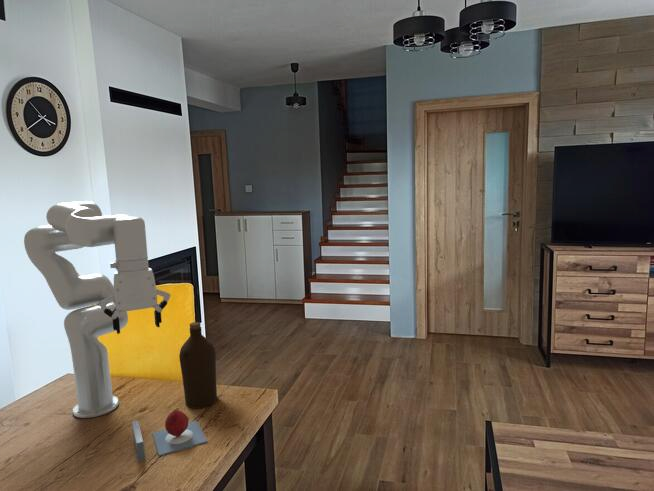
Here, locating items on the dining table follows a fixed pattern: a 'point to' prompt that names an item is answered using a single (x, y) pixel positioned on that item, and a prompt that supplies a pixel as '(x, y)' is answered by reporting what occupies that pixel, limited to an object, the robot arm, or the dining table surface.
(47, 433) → the dining table surface
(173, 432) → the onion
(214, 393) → the olive oil
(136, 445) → the low wall
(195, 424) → the mat
